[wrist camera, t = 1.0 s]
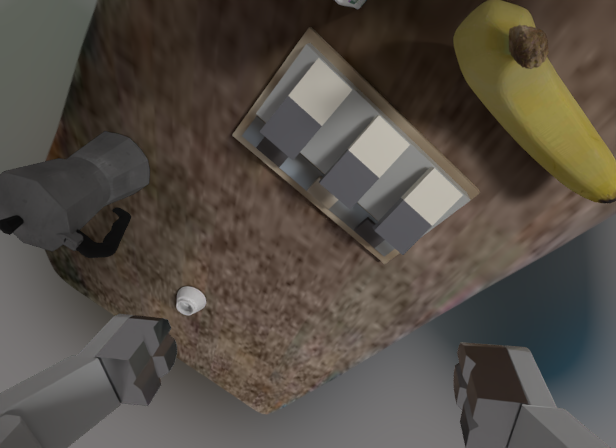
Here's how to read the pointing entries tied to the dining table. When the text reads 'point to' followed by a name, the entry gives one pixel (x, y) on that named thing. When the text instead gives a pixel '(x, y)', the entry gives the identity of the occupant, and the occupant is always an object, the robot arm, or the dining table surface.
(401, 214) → the rocker
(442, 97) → the dining table surface
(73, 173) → the coffeepot
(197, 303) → the white cup
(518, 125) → the banana
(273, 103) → the switch housing
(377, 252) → the switch board
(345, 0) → the syrup box
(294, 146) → the block
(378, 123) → the rocker
